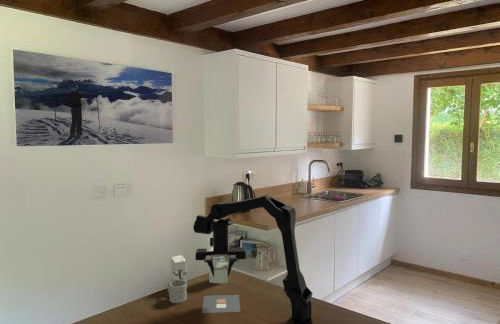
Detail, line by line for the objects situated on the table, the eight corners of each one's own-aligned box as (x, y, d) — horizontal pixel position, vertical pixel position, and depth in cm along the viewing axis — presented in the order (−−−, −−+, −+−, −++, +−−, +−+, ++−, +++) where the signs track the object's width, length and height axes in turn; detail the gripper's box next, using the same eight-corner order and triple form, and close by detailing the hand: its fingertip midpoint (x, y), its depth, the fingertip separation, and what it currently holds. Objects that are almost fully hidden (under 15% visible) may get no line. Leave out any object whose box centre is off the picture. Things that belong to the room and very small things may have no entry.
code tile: (238, 295, 146) (238, 294, 146) (240, 312, 132) (240, 311, 132) (203, 296, 145) (203, 295, 145) (201, 313, 131) (201, 312, 131)
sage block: (227, 274, 142) (227, 262, 142) (227, 282, 134) (227, 269, 134) (214, 274, 142) (214, 262, 142) (214, 283, 134) (214, 270, 134)
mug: (190, 299, 143) (190, 283, 142) (176, 305, 138) (175, 288, 137) (175, 291, 149) (175, 276, 149) (161, 297, 145) (161, 280, 144)
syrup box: (221, 284, 157) (221, 251, 156) (208, 282, 158) (208, 250, 157) (225, 278, 163) (225, 247, 162) (212, 277, 164) (212, 246, 163)
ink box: (171, 283, 158) (170, 256, 157) (182, 281, 160) (182, 254, 160) (175, 290, 150) (175, 262, 150) (187, 288, 153) (187, 260, 152)
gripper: (244, 229, 146) (244, 267, 147) (197, 230, 144) (197, 268, 145) (245, 237, 135) (246, 278, 136) (195, 238, 133) (195, 279, 134)
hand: (220, 275), depth 138 cm, fingers closed on sage block, 5 cm apart
